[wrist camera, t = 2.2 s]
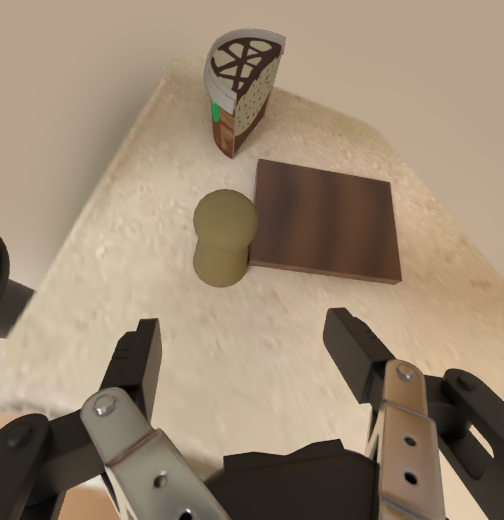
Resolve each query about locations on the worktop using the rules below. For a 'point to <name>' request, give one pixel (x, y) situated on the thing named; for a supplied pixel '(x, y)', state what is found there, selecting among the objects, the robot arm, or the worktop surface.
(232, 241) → the cork
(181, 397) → the worktop surface
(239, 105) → the food container
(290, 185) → the cutting board
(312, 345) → the worktop surface
